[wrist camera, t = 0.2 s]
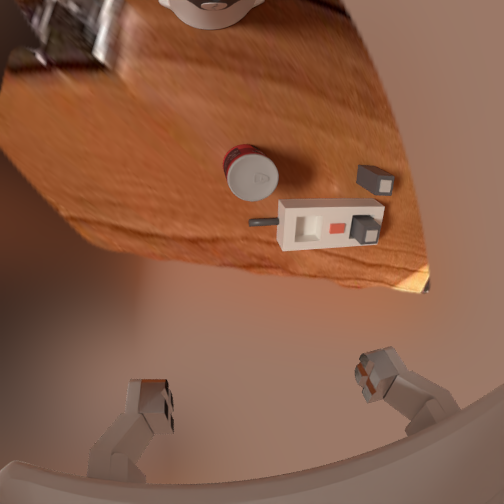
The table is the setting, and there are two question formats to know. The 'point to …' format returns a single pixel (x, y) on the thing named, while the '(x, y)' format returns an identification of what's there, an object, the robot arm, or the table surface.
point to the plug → (375, 180)
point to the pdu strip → (325, 222)
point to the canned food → (250, 173)
